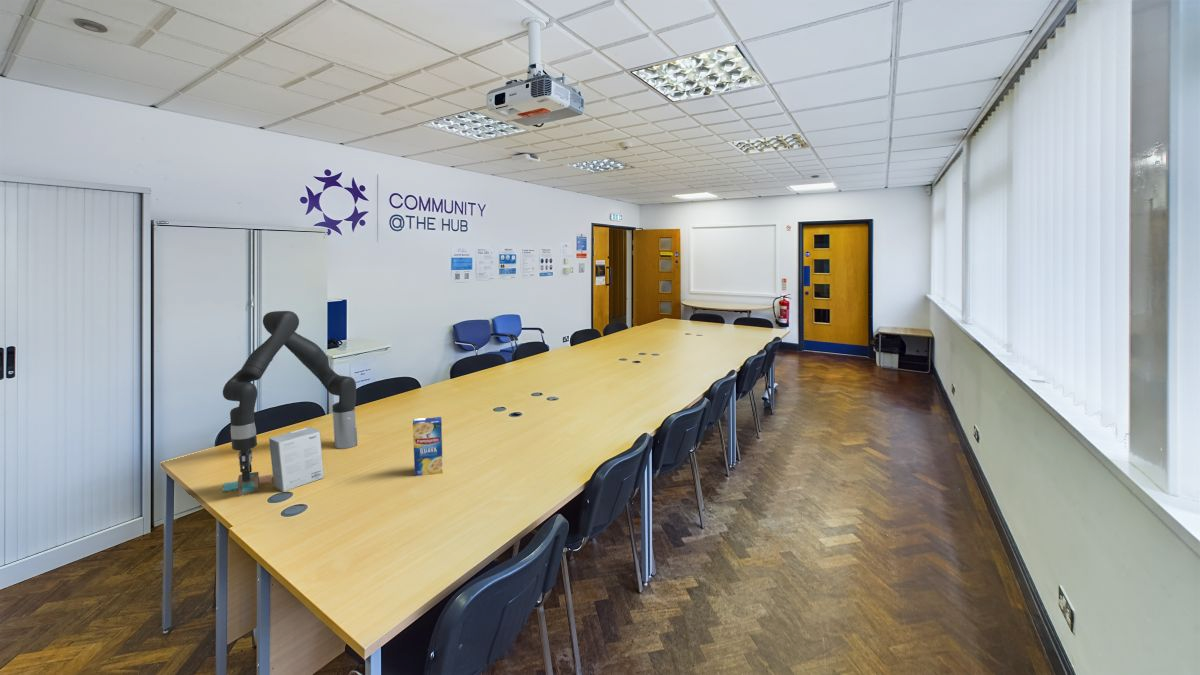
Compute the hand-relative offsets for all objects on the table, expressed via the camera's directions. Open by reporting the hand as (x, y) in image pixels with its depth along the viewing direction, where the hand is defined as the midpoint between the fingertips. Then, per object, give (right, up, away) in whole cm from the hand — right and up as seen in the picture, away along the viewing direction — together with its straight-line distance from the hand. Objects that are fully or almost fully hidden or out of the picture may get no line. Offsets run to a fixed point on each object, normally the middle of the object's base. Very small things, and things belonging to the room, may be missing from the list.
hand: (247, 476), depth 184 cm
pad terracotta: (-2, -4, +9) cm, 10 cm away
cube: (0, -6, +1) cm, 6 cm away
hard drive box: (+14, -5, +9) cm, 17 cm away
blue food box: (+60, -4, +21) cm, 64 cm away
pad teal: (-8, -5, +4) cm, 10 cm away
